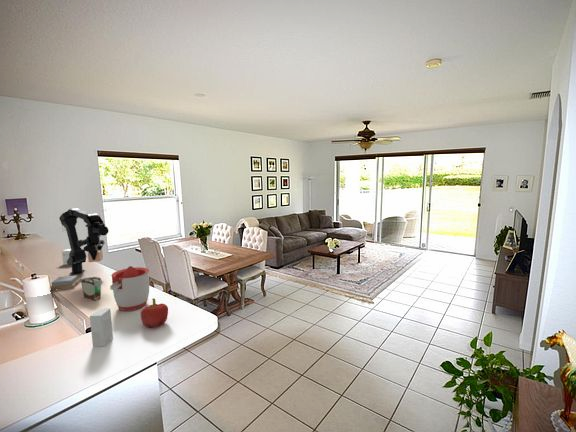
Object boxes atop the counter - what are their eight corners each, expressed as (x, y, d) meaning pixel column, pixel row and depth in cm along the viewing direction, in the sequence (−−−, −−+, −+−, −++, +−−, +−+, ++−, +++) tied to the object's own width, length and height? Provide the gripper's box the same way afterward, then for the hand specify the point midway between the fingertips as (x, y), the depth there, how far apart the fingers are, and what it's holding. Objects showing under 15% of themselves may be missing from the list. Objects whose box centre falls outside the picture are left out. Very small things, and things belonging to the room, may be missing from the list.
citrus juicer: (102, 311, 128) (99, 269, 125) (135, 297, 144) (132, 260, 141) (126, 317, 122) (123, 274, 120) (158, 302, 138) (155, 263, 136)
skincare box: (101, 337, 106) (99, 308, 105) (113, 337, 107) (111, 307, 105) (91, 347, 100) (89, 316, 99) (104, 346, 101) (101, 315, 99)
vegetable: (141, 321, 119) (139, 299, 118) (167, 316, 124) (166, 294, 123) (141, 333, 109) (140, 309, 108) (170, 327, 114) (168, 304, 113)
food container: (108, 297, 144) (107, 278, 142) (96, 301, 138) (94, 282, 137) (94, 293, 149) (92, 275, 148) (81, 297, 143) (80, 278, 142)
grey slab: (59, 281, 161) (58, 277, 161) (77, 279, 164) (77, 275, 164) (52, 286, 153) (51, 282, 153) (71, 284, 156) (71, 280, 156)
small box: (79, 262, 204) (78, 249, 203) (72, 265, 199) (71, 250, 197) (69, 262, 205) (68, 248, 204) (62, 264, 199) (61, 250, 198)
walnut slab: (58, 284, 162) (58, 280, 162) (81, 282, 166) (80, 278, 166) (49, 291, 152) (49, 287, 152) (73, 289, 156) (73, 285, 155)
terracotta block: (91, 259, 175) (91, 250, 174) (102, 258, 177) (102, 249, 176) (88, 262, 169) (87, 252, 168) (99, 261, 171) (99, 252, 170)
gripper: (83, 232, 177) (85, 255, 179) (71, 237, 159) (74, 264, 161) (103, 231, 181) (105, 254, 182) (94, 236, 163) (96, 262, 165)
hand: (95, 258), depth 173 cm, fingers closed on terracotta block, 6 cm apart
